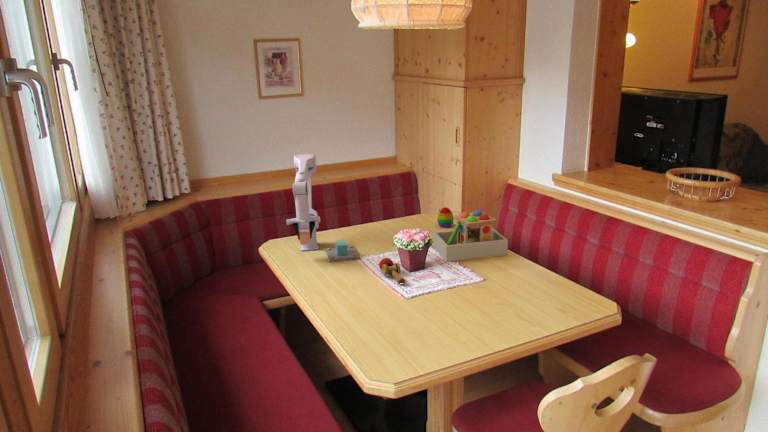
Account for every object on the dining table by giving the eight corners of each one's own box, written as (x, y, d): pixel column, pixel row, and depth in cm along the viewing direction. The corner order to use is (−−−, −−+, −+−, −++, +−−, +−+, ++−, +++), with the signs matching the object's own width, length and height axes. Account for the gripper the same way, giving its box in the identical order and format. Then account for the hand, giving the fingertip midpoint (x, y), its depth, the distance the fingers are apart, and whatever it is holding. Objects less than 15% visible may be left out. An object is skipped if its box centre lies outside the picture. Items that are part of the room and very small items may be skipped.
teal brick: (336, 250, 248) (335, 241, 247) (345, 249, 249) (345, 240, 247) (337, 255, 242) (337, 246, 241) (347, 254, 243) (347, 245, 242)
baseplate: (325, 251, 251) (325, 247, 251) (353, 248, 254) (353, 244, 253) (329, 262, 238) (329, 258, 238) (358, 259, 241) (358, 255, 240)
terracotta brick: (299, 240, 242) (298, 230, 241) (309, 239, 243) (308, 229, 241) (300, 244, 236) (299, 235, 235) (310, 243, 237) (309, 234, 236)
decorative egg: (456, 227, 278) (456, 208, 275) (441, 229, 276) (441, 210, 273) (449, 223, 285) (449, 204, 282) (435, 224, 283) (435, 206, 280)
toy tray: (433, 246, 253) (433, 232, 250) (490, 240, 258) (490, 226, 256) (446, 261, 235) (446, 246, 233) (507, 254, 240) (507, 239, 238)
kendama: (412, 285, 216) (393, 264, 231) (410, 272, 213) (391, 252, 228) (394, 292, 213) (376, 270, 228) (392, 279, 210) (374, 258, 225)
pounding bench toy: (448, 261, 235) (449, 221, 230) (435, 250, 248) (435, 212, 243) (496, 253, 242) (497, 215, 237) (480, 243, 255) (481, 206, 250)
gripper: (285, 212, 230) (288, 243, 234) (320, 209, 233) (322, 239, 237) (285, 208, 237) (287, 237, 241) (318, 205, 239) (320, 234, 243)
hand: (304, 238), depth 239 cm, fingers closed on terracotta brick, 4 cm apart
